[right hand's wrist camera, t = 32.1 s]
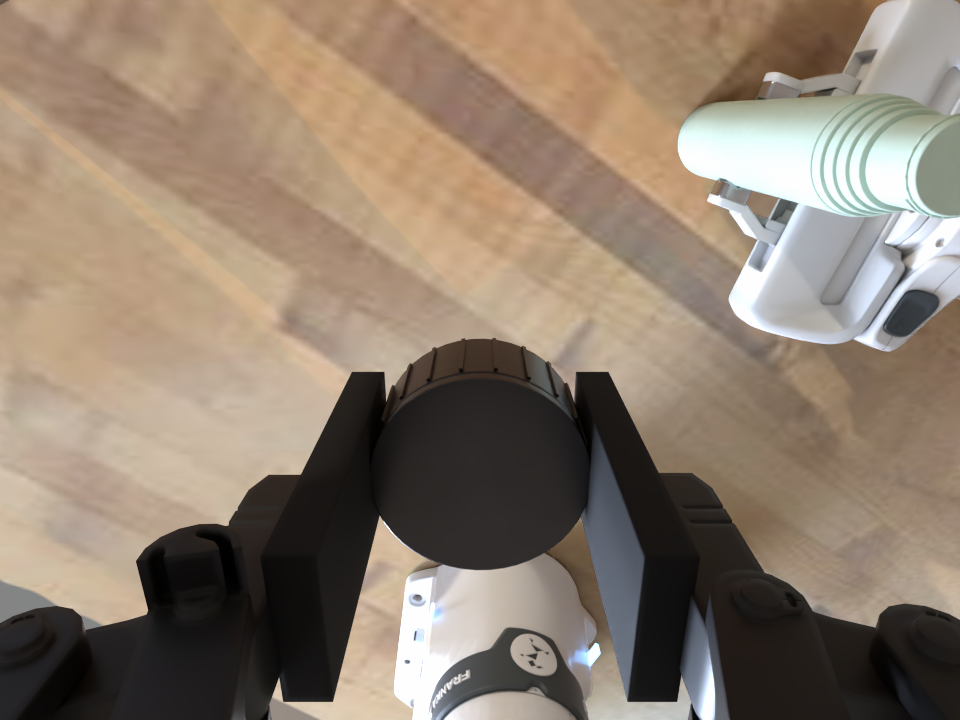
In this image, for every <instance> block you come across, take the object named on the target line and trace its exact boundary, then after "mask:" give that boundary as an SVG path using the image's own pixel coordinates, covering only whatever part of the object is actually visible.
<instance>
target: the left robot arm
mask: <svg viewBox="0 0 960 720" xmlns="http://www.w3.org/2000/svg"><path fill="white" fill-rule="evenodd" d="M814 91H816V93H815V95H814V97H820V96H838V95H857V94H875V93H887V94H893V95H899V96H904V97H908V98H910V99H913V100H915V101H917V102H919V103H921V104H923V105H925V106H927V107H929V108H931V109H933V110H935V111H938V112H940V113H942V114H943V115H953V114H956V113H960V3H958V2H957V1H955V0H888V1H886V2H884V3H882V4H880V5H879V6H878V7H877V8H876V9H875V10H874V12H873V13H872V15H871V17H870V19H869V21H868V23H867V25H866V27H865V29H864V31H863V33H862V35H861V37H860V39H859V41H858V43H857V45H856V47H855V49H854V51H853V53H852V55H851V57H850V59H849V61H848V63H847V65H846V67H845V69H844V70H843V72H842V73H839V74H830V75H822V76H817V77H812V78H808V79H803V80H798V79H795V78H793V77H790V76H788V75H785V74H783V73H778V72H770V73H766V75H765V77H764V80H763V82H762V84H761V86H760V88H759V90H758V93H757V95H756V97H755V99H756V100H764V99H783V98H798V96H799V94H804V93H809V92H814ZM750 193H751V190H749V189H746V188H742V187H739V186H736V185H734V184H733V183H730V182H727V181H724V180H720V179H717V181H716V183H715V185H714V188H713V190H712V192H711V194H710V195H709V198H708V200H707V201H708V202H711V203H713V204H716V205H719V206H721V207H724V208H727V209H729V210H730V211H729V212H730V213H731V215H732V216H733V218H734V219H735V220H736V222H737V223H738V225H739V226H740V228H741V229H742V231H743V232H744V233H745V234H746V235H748V236H751V237H753V238H755V239H757V242H756V244H755V246H754V248H753V250H752V252H751V254H750V256H749V258H748V260H747V262H746V264H745V266H744V268H743V270H742V272H741V274H740V276H739V278H738V280H737V282H736V283H735V285H734V287H733V289H732V291H731V293H730V295H729V303H730V305H731V307H732V309H733V311H734V313H735V314H736V315H737V316H738V317H739V318H740V319H741V320H743V321H744V322H746V323H747V324H749V325H751V326H753V327H755V328H758V329H760V330H763V331H766V332H770V333H773V334H777V335H781V336H785V337H789V338H793V339H798V340H803V341H808V342H814V343H821V344H838V343H843V342H847V341H849V340H852V339H854V340H856V341H858V342H860V343H863V344H865V345H867V346H870V347H873V348H876V349H879V350H882V351H893V350H895V349H897V348H899V347H900V346H902V345H903V344H904V343H905V342H906V341H907V340H908V339H909V338H910V337H911V336H912V335H914V334H915V333H916V332H917V331H918V330H919V329H920V328H921V327H922V326H923V325H924V324H925V323H927V322H928V321H929V320H930V319H931V318H932V317H933V316H934V315H936V314H937V313H938V312H939V311H940V310H941V309H943V308H944V307H945V306H946V305H948V304H949V303H950V302H951V301H953V300H954V299H955V298H956V299H960V217H958V218H950V219H940V218H935V217H929V216H925V215H921V214H919V213H918V212H916V211H914V210H907V211H901V212H896V213H890V214H884V215H878V216H873V217H850V216H844V215H840V214H836V213H833V212H829V211H825V210H822V209H818V208H815V207H811V206H807V205H804V204H800V203H797V202H793V201H789V200H786V199H782V198H779V199H778V201H777V203H776V205H775V207H774V209H773V211H772V213H771V215H770V216H769V218H765V217H763V216H760V215H754V214H753V212H752V211H751V209H750V208H749V207H748V205H747V204H746V202H747V200H748V198H749V196H750ZM416 594H419V595H421V596H416ZM596 635H597V629H596V623H595V621H594V619H593V618H592V616H591V615H590V614H589V613H588V612H587V611H586V610H585V609H584V608H583V607H582V604H581V602H580V599H579V595H578V591H577V588H576V585H575V583H574V581H573V579H572V577H571V576H570V574H569V573H568V571H567V570H566V569H565V568H564V567H563V566H562V565H561V564H560V563H559V562H557V561H556V560H555V559H553V558H552V557H550V556H549V555H547V554H545V553H543V554H542V555H540V556H538V557H536V558H534V559H532V560H530V561H527V562H524V563H521V564H519V565H515V566H511V567H507V568H502V569H494V570H467V569H459V568H454V567H449V566H446V565H441V566H439V567H435V568H430V569H425V570H421V571H417V572H414V573H412V574H411V575H409V577H408V578H407V581H406V587H405V596H404V604H403V613H402V621H401V630H400V638H399V647H398V655H397V664H396V672H395V682H394V692H395V695H396V696H397V697H398V698H399V699H400V700H402V701H403V702H404V703H405V704H407V705H408V706H410V707H412V708H413V709H414V712H413V720H588V713H587V708H586V705H585V701H586V699H587V698H588V697H589V696H591V694H592V675H591V665H592V664H593V662H594V661H595V660H596V659H597V657H598V656H599V655H600V650H599V645H598V644H596V643H595V644H594V646H593V647H592V648H591V649H590V651H589V647H588V646H589V645H590V644H591V642H592V641H593V640H594V639H595V637H596Z"/></svg>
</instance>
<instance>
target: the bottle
mask: <svg viewBox="0 0 960 720" xmlns="http://www.w3.org/2000/svg"><path fill="white" fill-rule="evenodd" d="M678 151H679V155H680V158H681V160H682V162H683V164H684V165H685V166H686V167H687V169H689V170H690V171H691V172H693V173H694V174H696V175H699V176H703V177H706V178H710V179H713V180H717V179H720V180H724V181H727V182H730V183H733V184H734V185H736V186H739V187H742V188H746V189H750V190H753V191H757V192H760V193H764V194H768V195H771V196H775V197H778V198H782V199H786V200H789V201H793V202H797V203H800V204H804V205H807V206H811V207H815V208H818V209H822V210H825V211H829V212H833V213H836V214H840V215H844V216H850V217H873V216H878V215H884V214H890V213H896V212H901V211H907V210H914V211H916V212H918V213H919V214H921V215H925V216H929V217H935V218H940V219H950V218H958V217H960V113H956V114H953V115H943V114H942V113H940V112H938V111H935V110H933V109H931V108H929V107H927V106H925V105H923V104H921V103H919V102H917V101H915V100H913V99H910V98H908V97H904V96H899V95H893V94H887V93H875V94H857V95H838V96H820V97H801V98H783V99H764V100H746V101H728V102H713V103H709V104H706V105H703V106H701V107H700V108H698V109H696V110H695V111H694V112H693V113H692V114H691V115H690V116H689V117H688V118H687V119H686V121H685V122H684V124H683V126H682V128H681V131H680V134H679V138H678Z"/></svg>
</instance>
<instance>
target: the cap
mask: <svg viewBox="0 0 960 720" xmlns="http://www.w3.org/2000/svg"><path fill="white" fill-rule="evenodd" d="M380 423H381V425H380V428H379V431H378V434H377V437H376V440H375V444H374V447H373V450H372V454H371V459H370V472H371V486H372V497H373V501H374V504H375V506H376V508H377V511H378V513H379V515H380V516H381V518H382V520H383V521H384V523H385V524H386V526H387V527H388V528H389V529H390V531H391V532H392V533H393V534H394V535H395V536H396V537H397V538H398V539H399V540H400V541H401V542H402V543H403V544H405V545H406V546H407V547H409V548H410V549H411V550H413V551H414V552H416V553H418V554H420V555H421V556H423V557H425V558H427V559H429V560H432V561H434V562H436V563H440V564H443V565H446V566H449V567H454V568H459V569H467V570H494V569H502V568H507V567H511V566H515V565H519V564H521V563H524V562H527V561H530V560H532V559H534V558H536V557H538V556H540V555H542V554H543V553H545V552H547V551H548V550H550V549H551V548H553V547H554V546H555V545H556V544H558V543H559V542H560V541H561V540H562V539H563V538H564V537H565V536H566V535H567V534H568V533H569V532H570V531H571V530H572V528H573V527H574V525H575V524H576V523H577V521H578V520H579V518H580V516H581V514H582V512H583V510H584V509H585V506H586V503H587V500H588V492H589V479H590V465H591V459H590V455H589V451H588V447H587V446H588V445H587V442H586V439H585V436H584V432H583V429H582V426H581V423H580V420H579V416H578V413H577V410H576V407H575V404H574V401H573V398H572V395H571V392H570V388H569V385H568V384H567V383H564V382H563V380H562V379H561V377H560V376H559V375H558V374H557V372H556V371H555V370H554V369H553V368H552V367H551V363H550V362H549V361H548V362H545V361H544V360H543V359H541V358H540V357H539V356H537V355H536V354H534V353H532V352H530V351H528V350H527V349H526V347H524V346H522V347H520V346H517V345H514V344H512V343H508V342H504V341H499V340H496V338H492V340H491V339H469V340H465V338H464V339H461V341H457V342H453V343H450V344H446V345H444V346H441V347H439V348H436V347H434V348H432V351H431V352H429V353H427V354H425V355H424V356H422V357H421V358H420V359H418V360H417V361H416V362H414V363H413V364H411V363H410V364H409V365H408V368H407V370H406V371H405V372H404V374H403V375H402V376H401V378H400V379H399V380H398V382H397V383H396V385H395V386H394V385H392V387H391V390H390V393H389V396H388V399H387V402H386V405H385V408H384V411H383V414H382V417H381V420H380Z"/></svg>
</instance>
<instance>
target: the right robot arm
mask: <svg viewBox="0 0 960 720" xmlns="http://www.w3.org/2000/svg"><path fill="white" fill-rule="evenodd" d="M6 1H8V0H0V4H3V3H5V2H6ZM574 404H575V407H576V410H577V413H578V416H579V420H580V423H581V426H582V429H583V432H584V436H585V439H586V442H587V445H588V446H587V447H588V451H589V455H590V459H591V465H590V479H589V492H588V500H587V503H586V506H585V509H584V510H583V512H582V514H581V518H582V522H583V526H584V530H585V534H586V538H587V542H588V546H589V550H590V554H591V558H592V562H593V566H594V570H595V574H596V578H597V582H598V586H599V590H600V594H601V598H602V602H603V606H604V610H605V614H606V618H607V622H608V626H609V630H610V634H611V638H612V642H613V646H614V650H615V654H616V658H617V662H618V666H619V670H620V674H621V678H622V682H623V686H624V690H625V694H626V698H627V702H677V699H678V693H679V686H680V680H681V675H682V677H683V680H684V683H685V686H686V688H687V691H688V694H689V697H690V700H691V706H690V712H689V718H688V720H960V620H959V619H957V618H955V617H953V616H951V615H950V614H947V613H944V612H941V611H938V610H935V609H932V608H929V607H926V606H920V605H912V604H900V605H895V606H889V607H888V608H887V609H885V610H884V611H883V612H882V613H881V614H880V615H879V619H878V622H877V625H876V628H874V627H870V626H866V625H861V624H857V623H853V622H848V621H844V620H840V619H835V618H831V617H828V616H825V615H821V614H818V613H815V612H813V611H812V609H811V607H810V606H809V604H808V603H807V601H806V600H805V598H804V596H803V595H802V594H800V593H799V592H798V591H797V590H796V589H794V588H793V587H792V586H791V585H790V584H788V583H786V582H784V581H782V580H780V579H778V578H776V577H774V576H772V575H769V574H766V573H764V571H763V569H762V568H761V566H760V565H759V563H758V561H757V560H756V558H755V557H754V555H753V553H752V552H751V550H750V549H749V547H748V545H747V544H746V542H745V540H744V539H743V537H742V536H741V534H740V532H739V531H738V529H737V528H736V526H735V524H732V520H731V518H730V516H729V515H728V513H727V511H726V510H725V509H723V505H722V503H721V502H720V500H719V499H718V497H717V495H716V494H715V492H714V491H713V489H712V488H711V487H710V486H709V485H707V484H706V483H704V482H703V481H702V480H700V479H699V478H698V477H696V476H695V475H694V474H692V473H658V471H657V469H656V467H655V465H654V463H653V461H652V459H651V457H650V455H649V453H648V451H647V449H646V447H645V445H644V443H643V441H642V439H641V437H640V435H639V433H638V431H637V429H636V427H635V425H634V423H633V421H632V419H631V417H630V415H629V413H628V411H627V409H626V407H625V405H624V403H623V401H622V399H621V397H620V395H619V393H618V391H617V389H616V387H615V384H614V382H613V380H612V378H611V376H610V374H609V372H576V382H575V398H574ZM385 405H386V391H385V375H384V372H352V373H351V375H350V377H349V379H348V381H347V383H346V385H345V387H344V389H343V391H342V393H341V395H340V397H339V399H338V401H337V403H336V405H335V407H334V409H333V411H332V413H331V415H330V417H329V419H328V421H327V423H326V425H325V427H324V429H323V432H322V434H321V436H320V438H319V440H318V442H317V444H316V446H315V448H314V450H313V452H312V454H311V456H310V458H309V460H308V462H307V464H306V466H305V468H304V470H303V472H302V474H301V475H268V476H267V477H265V478H264V479H263V480H261V481H260V482H259V483H257V484H256V485H255V486H253V487H252V488H251V489H249V490H248V492H247V494H246V495H245V497H244V499H243V500H242V502H241V503H240V505H239V507H238V511H235V513H234V515H233V516H232V518H231V520H230V521H229V526H223V525H219V524H198V525H194V526H189V527H185V528H181V529H178V530H176V531H173V532H171V533H169V534H167V535H164V536H162V537H160V538H159V539H157V540H156V541H155V542H153V543H152V544H151V545H149V546H148V547H147V548H145V550H144V551H143V552H142V554H141V555H140V556H139V558H138V559H137V561H136V563H137V567H138V571H139V575H140V579H141V583H142V587H143V591H144V595H145V599H146V603H147V607H148V613H147V615H144V616H141V617H137V618H134V619H131V620H127V621H123V622H118V623H114V624H110V625H105V626H101V627H97V628H93V629H88V630H85V627H84V624H83V620H82V617H81V616H80V615H79V614H78V613H76V612H75V611H74V610H73V609H70V608H64V607H59V606H53V607H45V608H37V609H33V610H30V611H28V612H25V613H22V614H19V615H15V616H13V617H11V618H9V619H7V620H5V621H4V622H2V623H0V720H272V718H271V712H270V706H269V704H270V701H271V698H272V695H273V693H274V690H275V687H276V684H277V681H278V679H279V678H280V684H281V690H282V696H283V702H333V699H334V695H335V691H336V687H337V683H338V679H339V675H340V671H341V667H342V663H343V659H344V655H345V651H346V647H347V643H348V639H349V635H350V631H351V627H352V623H353V619H354V615H355V611H356V607H357V603H358V600H359V596H360V592H361V588H362V584H363V580H364V576H365V572H366V568H367V564H368V560H369V556H370V552H371V548H372V544H373V540H374V536H375V532H376V528H377V524H378V520H379V516H380V515H379V513H378V511H377V508H376V506H375V504H374V501H373V497H372V486H371V472H370V459H371V454H372V450H373V447H374V444H375V440H376V437H377V434H378V431H379V428H380V425H381V423H380V420H381V417H382V414H383V411H384V408H385Z"/></svg>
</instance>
